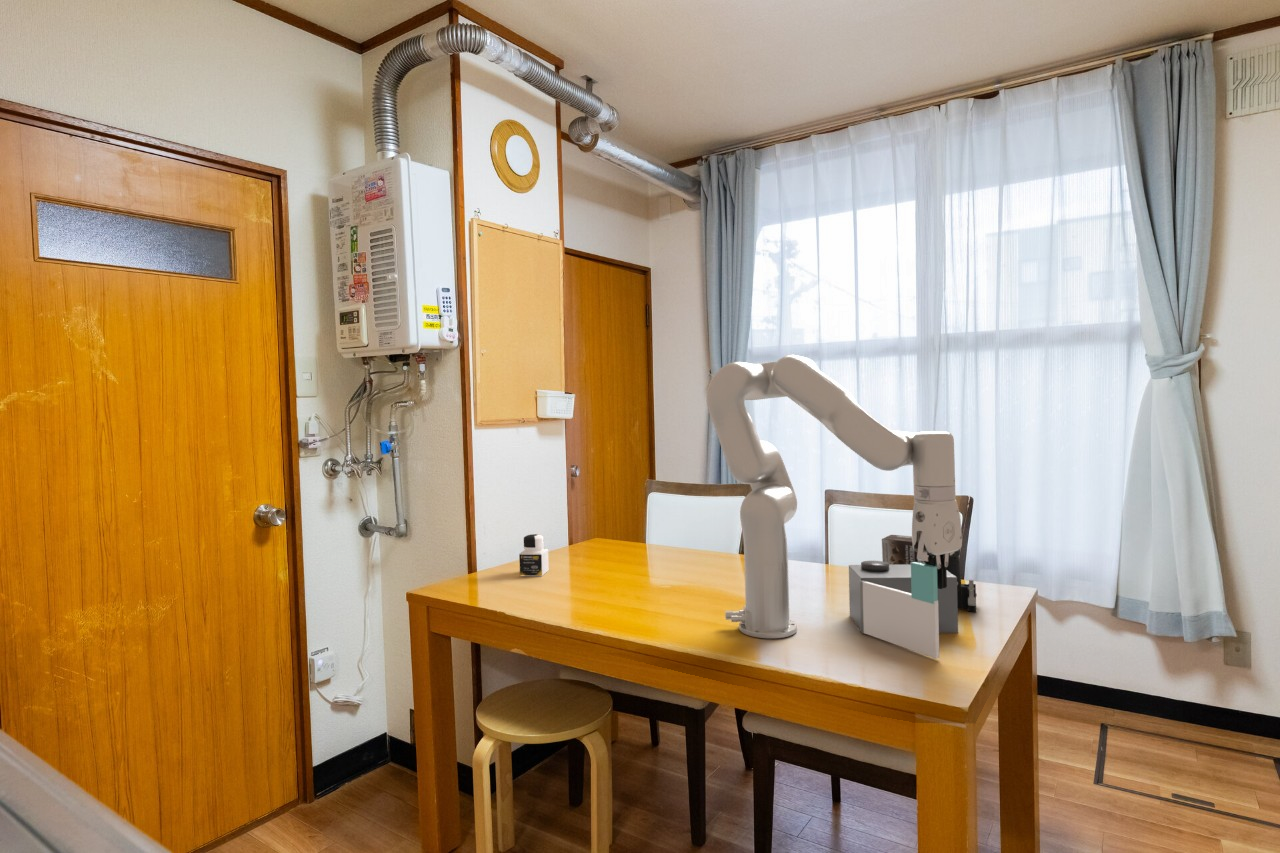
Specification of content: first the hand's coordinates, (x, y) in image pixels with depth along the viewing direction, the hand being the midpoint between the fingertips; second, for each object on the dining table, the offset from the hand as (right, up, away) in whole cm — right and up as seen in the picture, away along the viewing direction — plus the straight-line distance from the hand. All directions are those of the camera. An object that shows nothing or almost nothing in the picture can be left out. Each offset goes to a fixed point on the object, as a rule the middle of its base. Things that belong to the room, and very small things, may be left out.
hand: (937, 586), depth 132 cm
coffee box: (+8, -12, +35) cm, 38 cm away
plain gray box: (0, -13, +18) cm, 22 cm away
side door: (-6, -13, +5) cm, 15 cm away
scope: (+17, -12, +30) cm, 37 cm away
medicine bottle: (-91, -14, +76) cm, 119 cm away
